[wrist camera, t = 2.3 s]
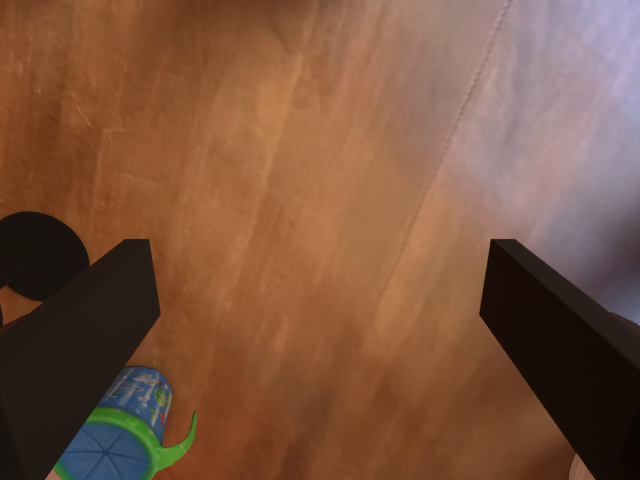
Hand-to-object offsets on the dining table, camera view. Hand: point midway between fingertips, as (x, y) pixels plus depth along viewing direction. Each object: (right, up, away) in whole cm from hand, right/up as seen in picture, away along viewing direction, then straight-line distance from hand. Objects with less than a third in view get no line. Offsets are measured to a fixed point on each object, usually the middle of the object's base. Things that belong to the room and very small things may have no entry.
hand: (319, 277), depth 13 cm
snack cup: (-21, -17, +36) cm, 45 cm away
